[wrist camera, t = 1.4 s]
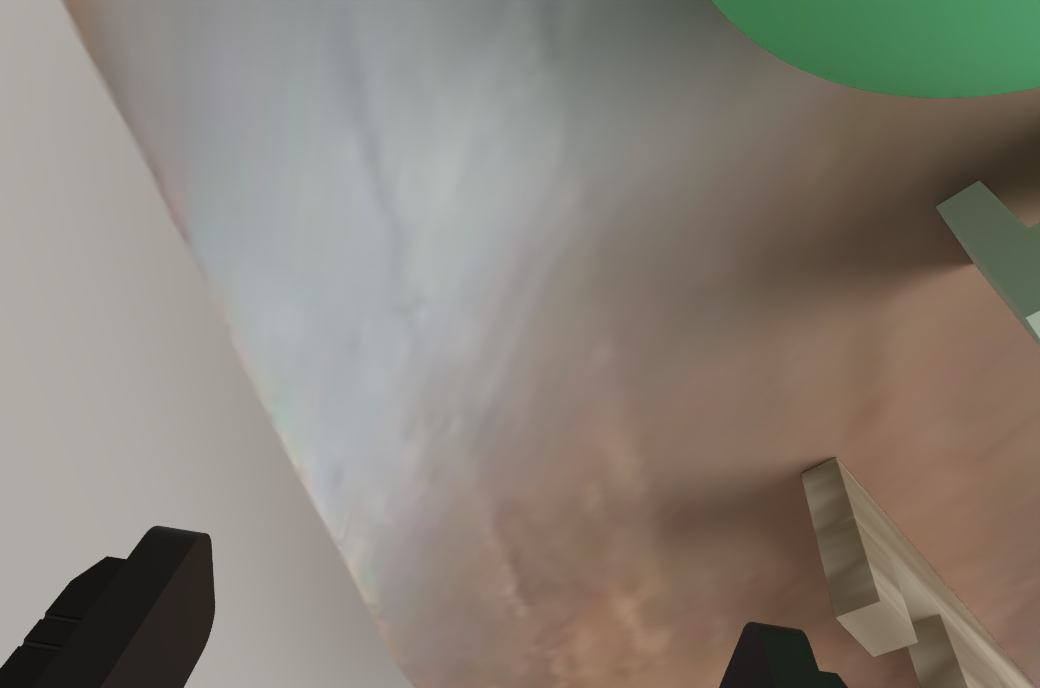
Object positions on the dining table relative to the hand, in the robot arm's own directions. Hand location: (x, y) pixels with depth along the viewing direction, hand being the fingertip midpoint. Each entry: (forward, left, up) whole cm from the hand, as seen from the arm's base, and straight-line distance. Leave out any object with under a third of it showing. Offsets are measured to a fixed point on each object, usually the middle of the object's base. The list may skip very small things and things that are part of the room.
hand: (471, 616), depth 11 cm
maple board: (+1, +28, -21) cm, 35 cm away
